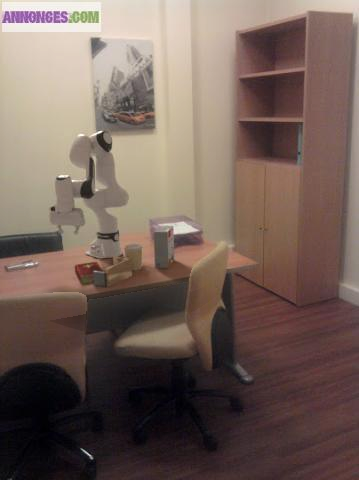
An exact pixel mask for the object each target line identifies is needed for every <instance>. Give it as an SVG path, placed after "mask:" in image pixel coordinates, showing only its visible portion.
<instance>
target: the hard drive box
mask: <svg viewBox="0 0 359 480" xmlns="http://www.w3.org/2000/svg"><path fill="white" fill-rule="evenodd" d="M174 235H175V234H174V225H161V224H160V226H159V227H157V229H155V231H154V232H153V248H154V249H153V251H154V253H153V254H154V268H156V269H169V268H170V267H171V265H172V264H173V263H174V261H175V242H174V241H175V236H174Z"/></svg>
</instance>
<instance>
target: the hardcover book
mask: <svg viewBox="0 0 359 480" xmlns="http://www.w3.org/2000/svg"><path fill="white" fill-rule="evenodd" d="M74 270H75V273H76V274H77V277H78V279H79V280H80V284H86V283H91V282H92V283H94V278H93V271H100V272H105V271H104V270H103V268H102V267H101V265H100V264H99V263H98V261H91V262H85V263H84V262H83V263H77V264H74Z"/></svg>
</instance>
